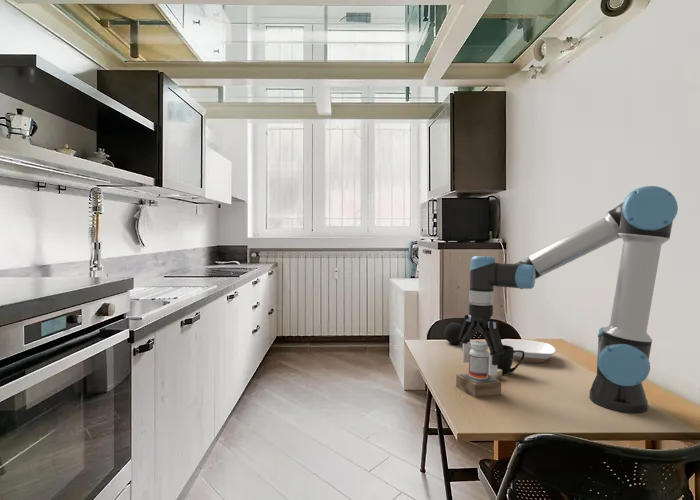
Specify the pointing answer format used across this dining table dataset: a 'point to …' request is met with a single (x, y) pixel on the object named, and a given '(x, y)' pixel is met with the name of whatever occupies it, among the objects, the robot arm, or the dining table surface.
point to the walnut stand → (478, 385)
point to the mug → (508, 359)
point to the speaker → (452, 332)
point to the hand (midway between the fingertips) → (478, 368)
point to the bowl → (530, 350)
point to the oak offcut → (499, 374)
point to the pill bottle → (479, 360)
